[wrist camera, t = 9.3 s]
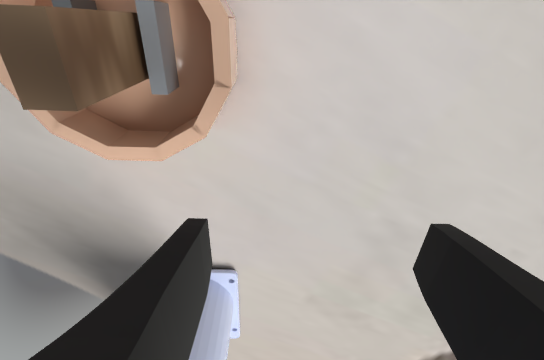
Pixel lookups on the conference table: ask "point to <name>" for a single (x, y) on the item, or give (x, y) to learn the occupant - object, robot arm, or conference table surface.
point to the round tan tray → (155, 81)
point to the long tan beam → (70, 55)
